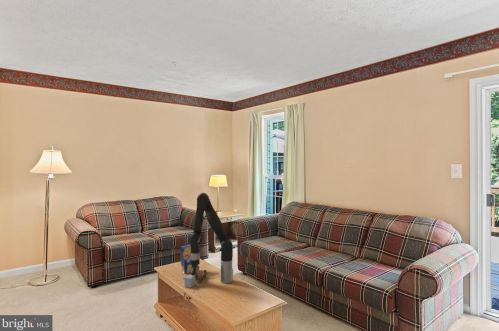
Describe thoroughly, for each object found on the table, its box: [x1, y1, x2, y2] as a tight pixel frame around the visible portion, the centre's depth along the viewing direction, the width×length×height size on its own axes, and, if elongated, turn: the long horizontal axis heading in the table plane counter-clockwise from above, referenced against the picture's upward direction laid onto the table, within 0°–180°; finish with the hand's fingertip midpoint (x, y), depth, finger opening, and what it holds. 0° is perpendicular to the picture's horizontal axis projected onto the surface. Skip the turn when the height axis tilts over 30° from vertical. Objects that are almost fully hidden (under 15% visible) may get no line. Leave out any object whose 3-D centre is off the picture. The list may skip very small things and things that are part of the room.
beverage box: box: [180, 244, 192, 274], centre depth 266 cm, size 7×11×22 cm, turn 132°
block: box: [184, 273, 197, 289], centre depth 234 cm, size 5×8×7 cm, turn 163°
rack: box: [196, 269, 207, 284], centre depth 247 cm, size 10×14×6 cm
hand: (194, 279), depth 242 cm, fingers closed
